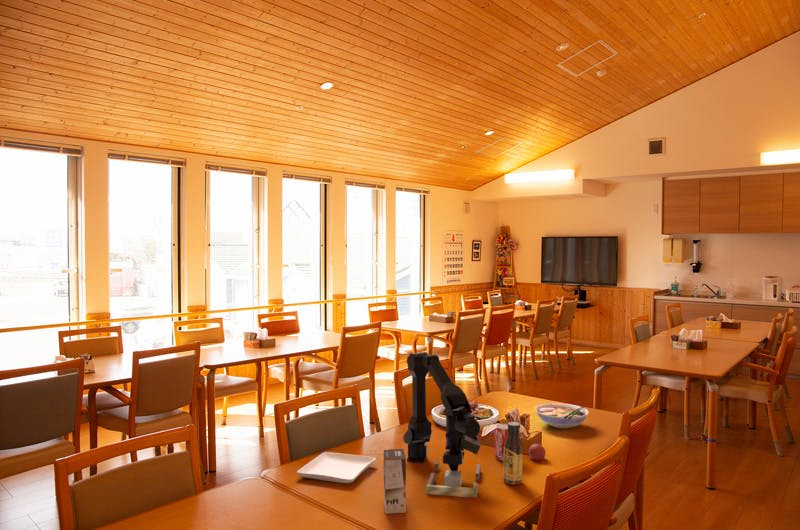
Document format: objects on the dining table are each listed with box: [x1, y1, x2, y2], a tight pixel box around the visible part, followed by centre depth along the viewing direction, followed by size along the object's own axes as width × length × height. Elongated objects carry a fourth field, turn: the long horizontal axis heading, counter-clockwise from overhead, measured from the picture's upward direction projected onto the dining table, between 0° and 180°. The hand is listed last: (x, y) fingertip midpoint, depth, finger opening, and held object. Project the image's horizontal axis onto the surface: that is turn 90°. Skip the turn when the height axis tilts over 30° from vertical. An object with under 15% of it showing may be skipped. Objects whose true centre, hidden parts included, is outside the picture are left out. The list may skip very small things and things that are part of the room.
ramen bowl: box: [534, 402, 590, 430], centre depth 251 cm, size 25×23×8 cm
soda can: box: [494, 423, 508, 462], centre depth 213 cm, size 7×7×12 cm
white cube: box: [444, 469, 463, 487], centre depth 187 cm, size 5×5×4 cm
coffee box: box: [383, 448, 407, 515], centre depth 173 cm, size 9×6×16 cm
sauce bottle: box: [502, 421, 524, 486], centre depth 190 cm, size 6×6×20 cm
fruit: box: [527, 443, 547, 462], centre depth 212 cm, size 6×6×8 cm
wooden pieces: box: [426, 460, 481, 499], centre depth 191 cm, size 16×22×2 cm
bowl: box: [431, 400, 500, 428], centre depth 259 cm, size 30×30×8 cm
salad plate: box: [296, 451, 377, 484], centre depth 200 cm, size 21×21×3 cm
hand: (455, 476), depth 191 cm, fingers closed
